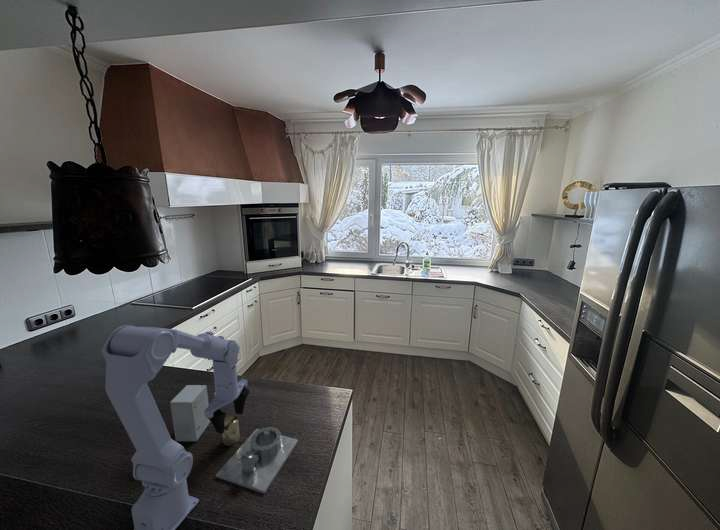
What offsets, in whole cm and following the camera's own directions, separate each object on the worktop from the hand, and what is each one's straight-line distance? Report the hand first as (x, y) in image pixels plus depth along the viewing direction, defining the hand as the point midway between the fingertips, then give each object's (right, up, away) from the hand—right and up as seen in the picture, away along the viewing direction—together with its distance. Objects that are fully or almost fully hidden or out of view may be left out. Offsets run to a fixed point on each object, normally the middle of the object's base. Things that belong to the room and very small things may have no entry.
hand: (230, 422), depth 82 cm
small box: (-13, -5, +4) cm, 14 cm away
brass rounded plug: (0, -6, +1) cm, 6 cm away
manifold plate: (+11, -7, -5) cm, 14 cm away
